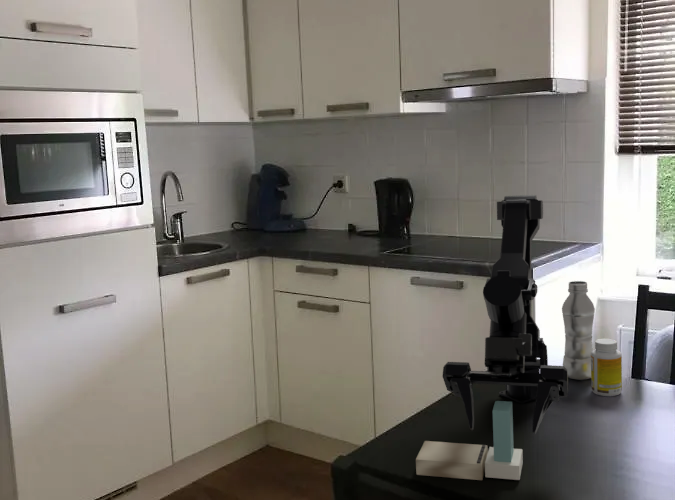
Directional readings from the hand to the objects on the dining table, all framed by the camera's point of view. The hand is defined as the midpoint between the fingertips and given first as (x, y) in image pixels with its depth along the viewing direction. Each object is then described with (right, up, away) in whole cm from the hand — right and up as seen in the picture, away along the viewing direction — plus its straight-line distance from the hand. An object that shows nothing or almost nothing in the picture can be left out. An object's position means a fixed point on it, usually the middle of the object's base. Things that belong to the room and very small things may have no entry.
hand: (502, 431), depth 111 cm
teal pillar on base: (+1, -7, +2) cm, 7 cm away
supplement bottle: (+27, -1, +33) cm, 43 cm away
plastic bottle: (+25, +1, +42) cm, 49 cm away
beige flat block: (-7, -7, +5) cm, 11 cm away
